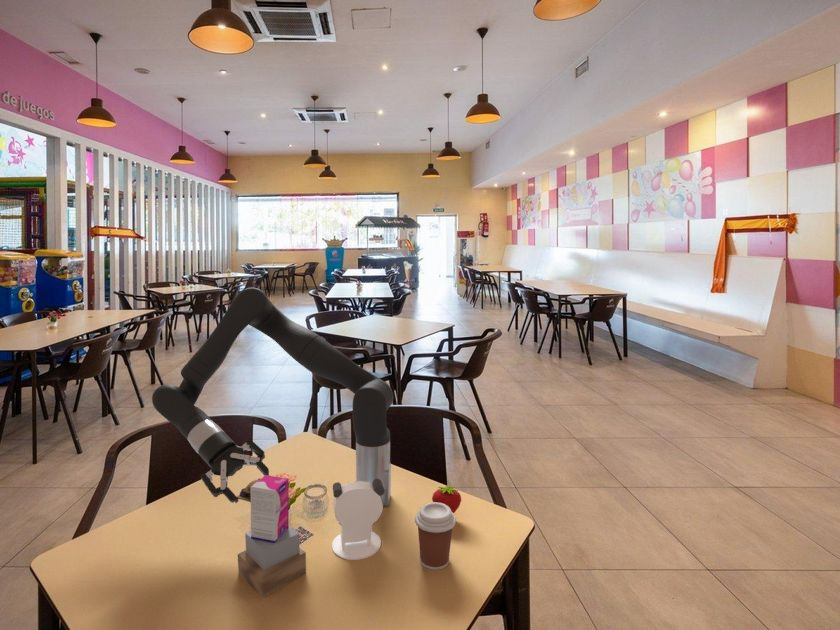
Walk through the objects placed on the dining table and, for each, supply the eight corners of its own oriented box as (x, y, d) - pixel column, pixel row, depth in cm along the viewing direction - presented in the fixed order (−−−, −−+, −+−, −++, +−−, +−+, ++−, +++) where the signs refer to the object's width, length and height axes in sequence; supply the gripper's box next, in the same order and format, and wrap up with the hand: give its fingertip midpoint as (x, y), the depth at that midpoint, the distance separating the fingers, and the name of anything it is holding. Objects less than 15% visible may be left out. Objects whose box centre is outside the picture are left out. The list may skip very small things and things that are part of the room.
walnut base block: (238, 575, 101) (237, 554, 100) (280, 553, 109) (279, 533, 108) (263, 598, 95) (262, 575, 94) (306, 573, 102) (305, 552, 101)
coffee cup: (459, 552, 109) (460, 503, 108) (448, 578, 101) (449, 525, 99) (421, 544, 112) (422, 496, 111) (408, 568, 104) (408, 516, 102)
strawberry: (431, 511, 126) (431, 476, 125) (459, 512, 126) (460, 476, 125) (432, 524, 120) (432, 487, 119) (461, 524, 120) (462, 487, 119)
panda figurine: (379, 527, 119) (379, 470, 117) (387, 555, 108) (387, 493, 106) (330, 533, 116) (329, 475, 114) (333, 563, 105) (332, 499, 103)
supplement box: (276, 543, 97) (274, 490, 95) (250, 539, 98) (248, 486, 97) (290, 528, 102) (289, 477, 101) (265, 523, 104) (263, 474, 102)
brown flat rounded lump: (258, 505, 129) (258, 493, 129) (233, 499, 132) (233, 486, 132) (283, 487, 139) (282, 475, 139) (259, 481, 142) (259, 470, 142)
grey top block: (246, 552, 101) (245, 532, 100) (280, 536, 107) (280, 518, 106) (264, 570, 95) (263, 549, 95) (299, 553, 101) (299, 533, 100)
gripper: (181, 455, 111) (224, 504, 106) (234, 417, 119) (276, 460, 114) (187, 468, 117) (228, 515, 111) (237, 431, 125) (278, 473, 120)
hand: (252, 487), depth 113 cm, fingers open, 8 cm apart
